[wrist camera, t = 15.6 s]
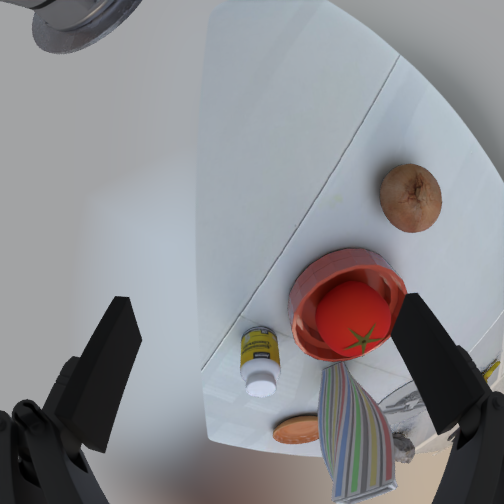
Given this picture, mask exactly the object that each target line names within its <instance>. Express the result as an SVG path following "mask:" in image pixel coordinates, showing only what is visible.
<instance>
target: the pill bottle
mask: <svg viewBox="0 0 504 504" xmlns="http://www.w3.org/2000/svg"><path fill="white" fill-rule="evenodd" d="M240 373H241V377H242V379H243V380H244V381H245V382H246V392H247V393H248V394H249V395H251V396H254V397H267V396H270V395H272V394H273V393H274V392H275V391H276V380H277V379H278V378H279V376H280V373H281V368H280V359H279V350H278V341H277V337H276V335H275V333H274V332H273V331H271V330H270V329H267V328H263V327H257V328H252V329H250V330H248V331H247V332H245V334H244V335H243V337H242V340H241V365H240Z"/></svg>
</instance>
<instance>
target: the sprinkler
mask: <svg viewBox="0 0 504 504" xmlns="http://www.w3.org/2000/svg"><path fill="white" fill-rule="evenodd" d="M499 364H500V361H497V362H496V363H495V364H494V365H493V366H492V367H491V368H490V369H489V370H488V371H487V372H486V373H485V374H484V375H483V377H484V379H485V381H486V382H487V379H488V377H490V375H491V374H492V372H493V371H494V370H495V369H496V368H497V366H498V365H499Z"/></svg>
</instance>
